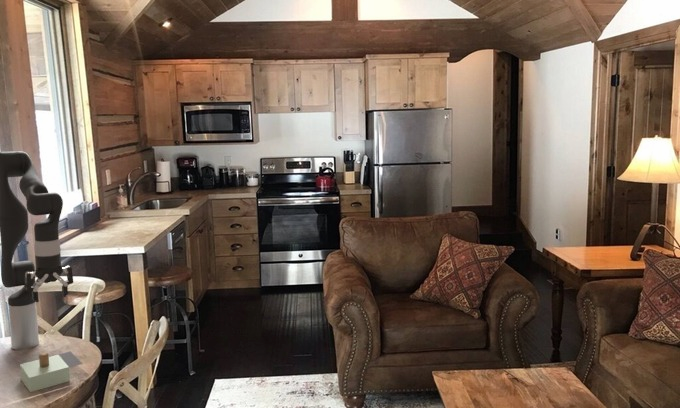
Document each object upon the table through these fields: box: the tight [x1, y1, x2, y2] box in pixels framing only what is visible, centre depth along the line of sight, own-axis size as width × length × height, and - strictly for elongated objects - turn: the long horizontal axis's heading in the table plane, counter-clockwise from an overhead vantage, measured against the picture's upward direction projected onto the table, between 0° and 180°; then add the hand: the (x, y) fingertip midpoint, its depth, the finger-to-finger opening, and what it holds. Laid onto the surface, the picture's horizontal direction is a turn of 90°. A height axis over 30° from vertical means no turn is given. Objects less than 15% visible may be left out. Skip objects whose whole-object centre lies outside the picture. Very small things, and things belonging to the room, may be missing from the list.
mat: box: [29, 351, 83, 368], centre depth 196 cm, size 14×14×1 cm
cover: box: [19, 352, 71, 393], centre depth 182 cm, size 12×12×9 cm
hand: (50, 299), depth 185 cm, fingers open, 8 cm apart
